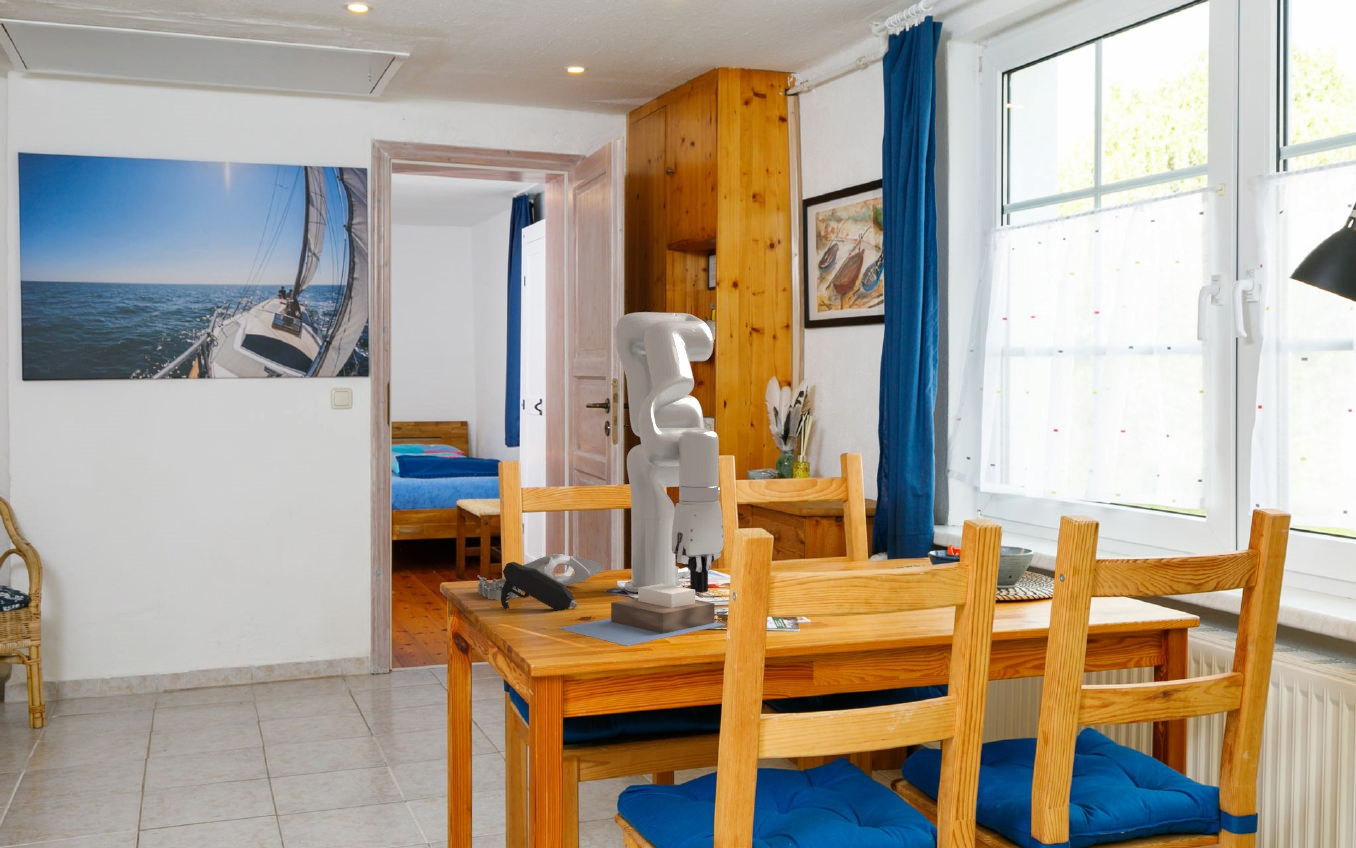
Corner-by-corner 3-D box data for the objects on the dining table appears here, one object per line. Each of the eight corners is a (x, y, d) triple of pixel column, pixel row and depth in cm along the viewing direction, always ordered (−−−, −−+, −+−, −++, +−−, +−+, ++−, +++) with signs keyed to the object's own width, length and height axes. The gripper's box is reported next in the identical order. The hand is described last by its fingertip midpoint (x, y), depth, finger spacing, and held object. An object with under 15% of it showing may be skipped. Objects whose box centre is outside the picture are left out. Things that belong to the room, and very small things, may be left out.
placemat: (655, 611, 217) (655, 609, 217) (726, 626, 204) (726, 624, 204) (557, 630, 201) (557, 628, 201) (627, 648, 187) (627, 645, 187)
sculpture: (558, 595, 236) (558, 565, 236) (500, 583, 250) (500, 555, 249) (619, 584, 248) (619, 556, 248) (561, 574, 262) (561, 547, 262)
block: (662, 611, 215) (662, 593, 215) (714, 622, 205) (714, 603, 205) (611, 621, 206) (611, 602, 206) (662, 633, 196) (662, 613, 196)
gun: (557, 640, 218) (579, 595, 217) (487, 599, 221) (509, 555, 220) (561, 637, 221) (583, 593, 220) (492, 597, 224) (514, 553, 222)
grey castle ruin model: (475, 593, 239) (475, 574, 239) (509, 590, 242) (509, 572, 242) (488, 602, 229) (487, 582, 229) (523, 599, 232) (523, 579, 232)
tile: (661, 596, 212) (661, 583, 212) (695, 603, 205) (695, 589, 205) (638, 601, 208) (638, 587, 207) (671, 607, 201) (671, 594, 201)
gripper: (712, 491, 219) (712, 584, 220) (656, 496, 209) (656, 594, 210) (740, 494, 214) (740, 589, 215) (684, 499, 204) (684, 599, 204)
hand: (699, 591), depth 212 cm, fingers closed
